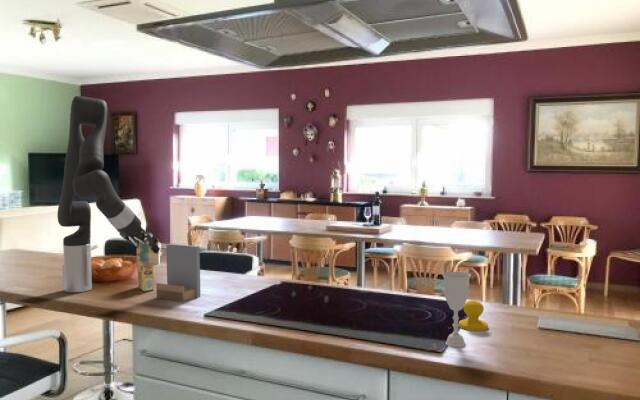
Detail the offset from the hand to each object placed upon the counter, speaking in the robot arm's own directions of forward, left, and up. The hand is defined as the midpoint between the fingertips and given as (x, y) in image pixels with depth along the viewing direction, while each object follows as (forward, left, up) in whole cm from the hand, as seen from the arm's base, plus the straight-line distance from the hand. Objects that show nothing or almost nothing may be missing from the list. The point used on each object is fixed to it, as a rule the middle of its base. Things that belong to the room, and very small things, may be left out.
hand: (151, 250), depth 182 cm
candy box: (-15, +11, -17) cm, 26 cm away
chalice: (+104, +1, -17) cm, 106 cm away
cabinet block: (0, -1, -5) cm, 5 cm away
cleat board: (+5, +6, -17) cm, 19 cm away
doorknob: (+105, +18, -17) cm, 108 cm away
